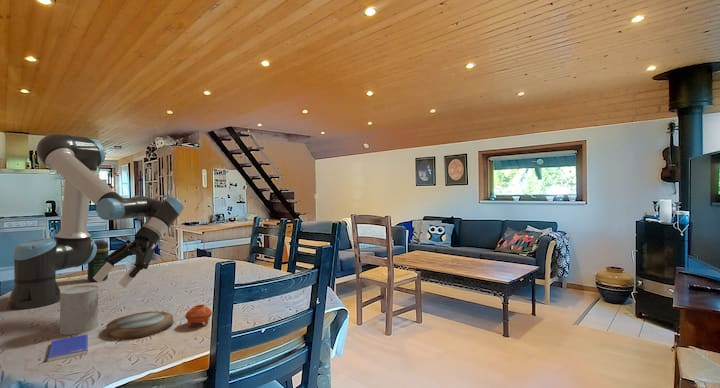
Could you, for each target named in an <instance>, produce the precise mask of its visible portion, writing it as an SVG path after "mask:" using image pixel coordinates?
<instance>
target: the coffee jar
mask: <svg viewBox="0 0 720 388" xmlns="http://www.w3.org/2000/svg"><path fill="white" fill-rule="evenodd" d="M94 241H95V244H96V246H97V251H96V255H95V257H94V258H93V260H92V261H90V262H89V263H87V281H88V282H97V281H96V280H94V279H93V277H94V276H95V275H96V274H97V273H98V272H99V270H100V269H101V268H102V267H103V266H104V265H105V263H106V261H105V260H104V259H105V258H106V257H107V256H108V255H109V243H108V241H105V240H103V239H101V240H100V239H97V240H94ZM108 277H109V273H108V274H107V275H106V276H105V278H104V279H103V280H102V281H104V280H105V281H106V280H107V279H108Z"/></svg>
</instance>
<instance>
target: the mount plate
mask: <svg viewBox="0 0 720 388" xmlns="http://www.w3.org/2000/svg"><path fill="white" fill-rule="evenodd" d="M173 324H174V316H173V314H172V313H170V312H166V311H159V310H157V311H154V310H153V311H144V312H143V311H142V312H137V313H132V314H131V313H130V314H127V315H124V316H121V317H118V318H115V319H113V320H111V321H110V322H109V323H107V324H106V327H105V328H106V330H105V332H106V336H107V337H109V338H110V339H115V340H131V339H132V340H133V339H140V338H146V337H151V336H153V335H154V336H155V335H156V334H160V333H163V332H165V331H166V330H168V329H170V328H171V327H172V326H173Z"/></svg>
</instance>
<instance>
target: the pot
mask: <svg viewBox="0 0 720 388" xmlns="http://www.w3.org/2000/svg"><path fill="white" fill-rule="evenodd" d="M212 314H213V311H212V310H211V309H210V308H209V307H208V306H206V305H205V304H196V305H193V306H192V308H189V310H188V311H187V312H186V313H185V316H184V317H185V319H186V320H187V325H188V327H189V328H191V327H192V326H191V325H192V324H201V323H204V324H205V326H208V324H209V319H210V317H211V316H212Z"/></svg>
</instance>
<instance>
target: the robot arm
mask: <svg viewBox="0 0 720 388" xmlns="http://www.w3.org/2000/svg"><path fill="white" fill-rule="evenodd" d="M36 154H37V157H38V158H39V160H40V161H41V162H42V163H43V165H45V166H46V167H47V168H48V169H50V170H53V171H56V172H57V173H59V174H60V175H61V176H62V177H63V178H64V186H63V199H62V207H61V208H62V211H61V222H60V231H58V232H57V233H56V234H55V236H54V238H41V239H40V238H39V239H33V240H32V239H31V240H27V241H23V242H21V243H19V244H17V245H16V246H15V248H14V251H13V252H14V253H13V259H14V260H13V262H14V263H13V264H14V267H13V268H14V269H13V270H14V273H13V277H14V278H13V279H14V280H13V281H14V283H13V287H12V290H11V292H10V294H9V297H8V298H7V308H9V309H11V310H12V309H14V310H17V309H18V310H22V309H33V308H38V307H43V306H45V307H46V306H48V305H52V304H54V303H55V304H56V303H58V302H60V291H61V289H60V287H59V285H58V282H57V280H56V279H57V278H56V275H57V274H56V271H62V270H67V269H72V268H79V267H81V266H85V265H88V263H89V262H90V261H92V260H93V258H94V257H95V255H96V251H97V246H96V244H95V241H96V240H94V239H93V237H92V235H91V233H89V232H88V222H89V210H90V209H89V208H90V201H91V203H93V204H94V205H95V206H96V207H95V213H97V216H98V217H99V218H100V219H102V220H104V221H106V220H107V221H118V220H126V219H135V218H147V220H146V221H145V222H144V223H143V224H142V227H140V228H139V229H138V230H137V232H135V234H134V237H135V239H134V240H133V241H131V240H130V239H127V240H126V241H125V242H124V243H123V244H122V245H120V246H119V247H117V249H115V250H114V251H112V252H111V253H110V254H108V256H107V257H106V258H105V259H104V260H105V261H106V263H105V265H104V266H103V267H102V268H101V269H100V270H99V272H98V273H97V274H96V275H95V276H94V277H93V279H94V280H96V282H98V283H99V284H100V283H101V282H102V281H104V280H103V279H104V278H105V276H106V275H107V274H108V275H109V273H110V272H111V271H112V269H114V268H115V265H116V264H117V263H119V262H121V261H122V260H124V259H127V257H131V256H134V255H135V263H134V264H133V265H132V266H131V267H130V268H129V269H128V271H126V273H125V274H124V275H123V276H122V278H121V279H120V280H119V282H118V284H119V285H120V286H122V287H123V288H127V287H128V286H129V284H130V283H131V282H132V281H133V279H134V278H135V277H136V276H137V275H138V274H139V273H140V271H142V270H143V269H144V270H147V269H148V268H149V265H150V263H151V261H152V258H153V255H154V252H155V251H156V249H157V248H158V247H157V243H158V242H159V241H160V239H161V238H162V237H163V236H164V235H165V233H166V231H168V230H169V228H170V227H171V225H172V224H173V223H174V222H175V221H176V220H177V219H178V218H179V216H180V215H181V213H182V212H183V211H184V209H185V207H184V204H183V202H182V201H181V200H179V198H177V197H174V196H168V197H166V198H165V199H164V200H158V199H154V198H150V197H147V196H145V195H133V196H132V197H123V196H121V195H120V194H118V193H117V192H116V191H115V190H114V189H113V188H112V187H111V186H109V185H108V184H107V183H106V182H105V181H104V180H102V179H101V177H99V176H98V175H97V174H95V173H96V172H97V170H98V167H99V166H101V165H102V164H103V163H104V162H105V159H106V150H105V148H104V146H103V145H102V144H101V142H99V141H98V140H96V139H95V138H89V137H86V136H79V135H78V136H77V135H71V134H63V133H51V134H47V135H45V136H43V138H41V139H40V140H39V141H38V143H37V145H36Z"/></svg>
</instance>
